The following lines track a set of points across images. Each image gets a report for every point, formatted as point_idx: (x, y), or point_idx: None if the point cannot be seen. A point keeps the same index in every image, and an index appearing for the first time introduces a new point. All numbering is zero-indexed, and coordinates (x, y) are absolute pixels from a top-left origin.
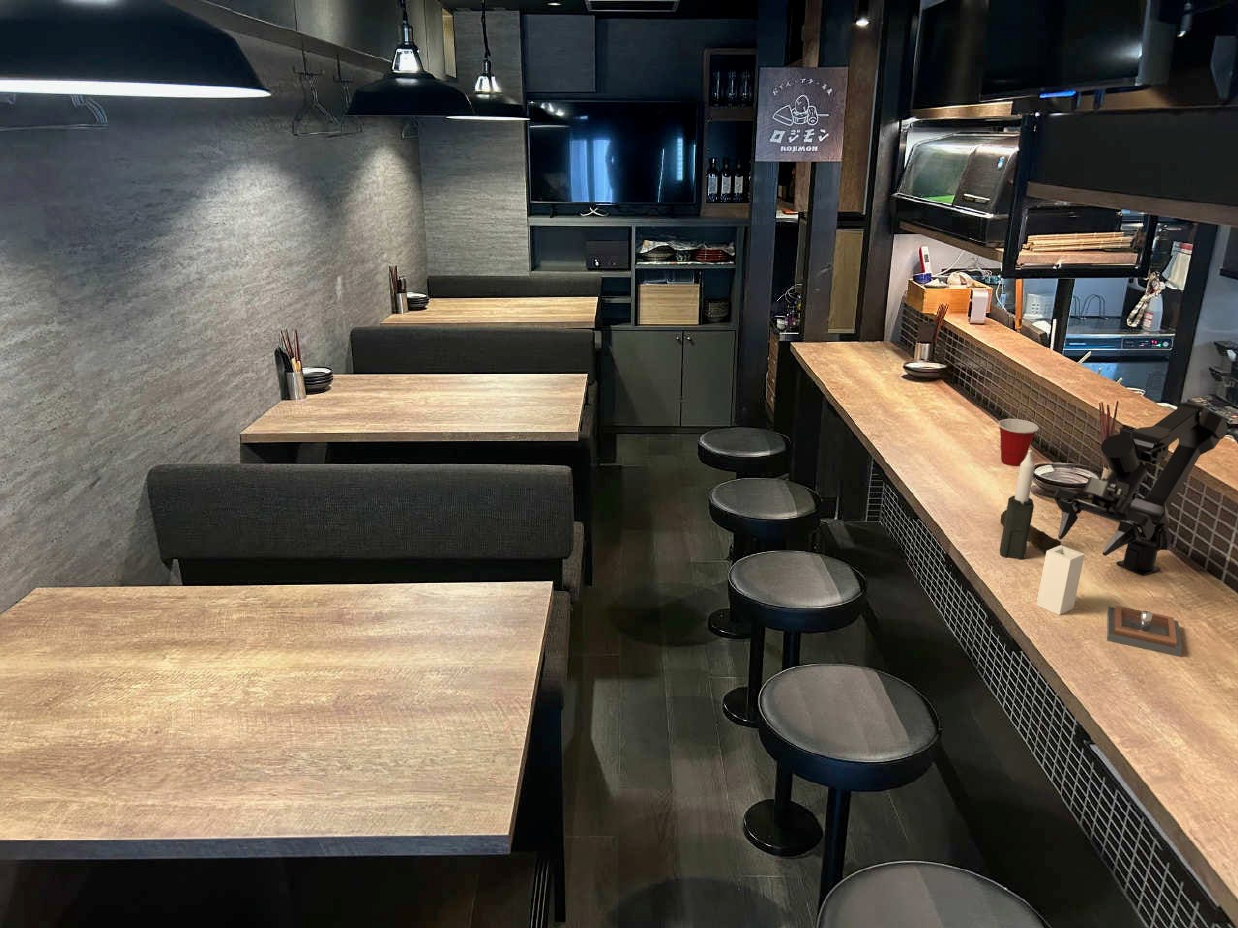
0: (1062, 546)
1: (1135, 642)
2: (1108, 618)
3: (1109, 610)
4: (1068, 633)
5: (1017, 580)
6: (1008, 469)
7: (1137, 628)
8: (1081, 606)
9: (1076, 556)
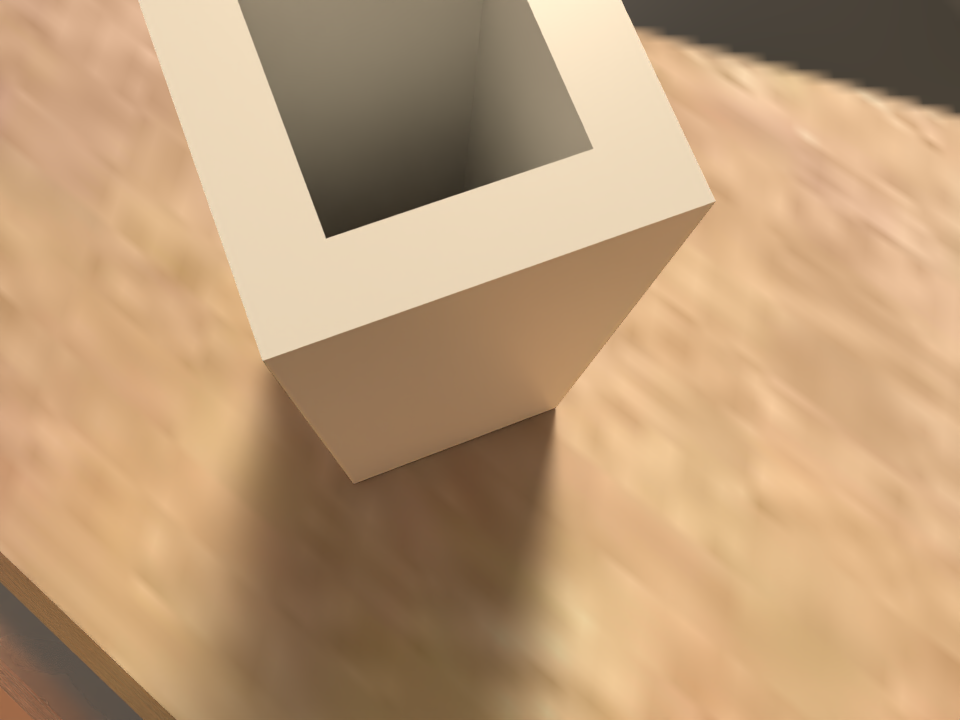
0: (654, 192)
1: None
2: (2, 578)
3: (106, 694)
4: (14, 155)
5: (908, 359)
6: None
7: None
8: (369, 587)
9: (210, 134)
